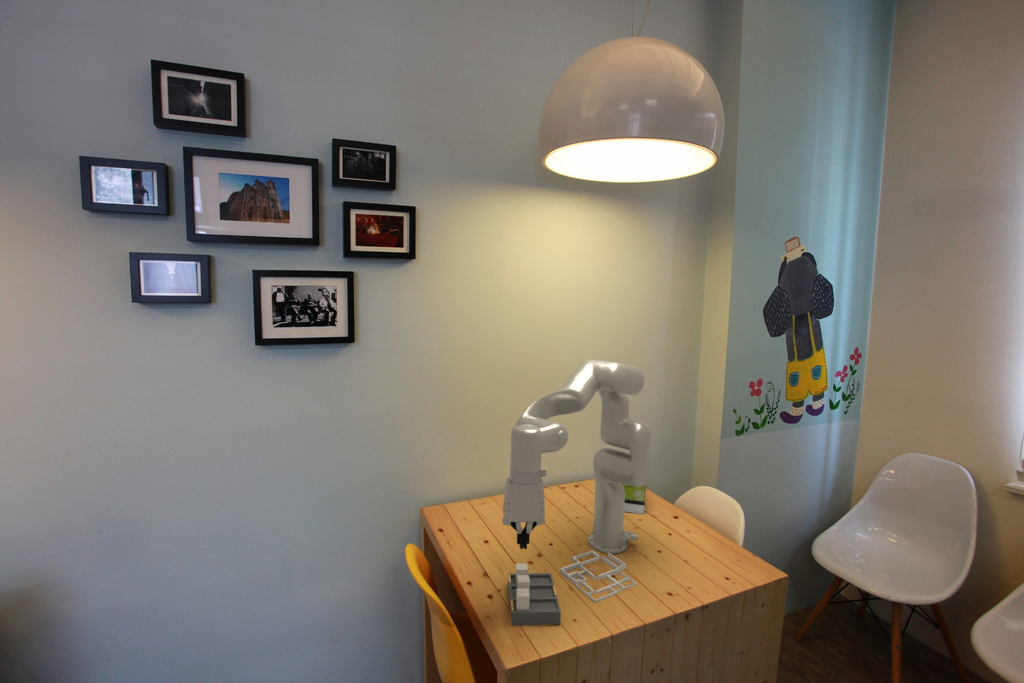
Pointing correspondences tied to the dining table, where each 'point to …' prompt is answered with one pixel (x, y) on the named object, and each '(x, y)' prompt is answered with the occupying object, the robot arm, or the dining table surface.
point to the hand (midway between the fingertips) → (522, 546)
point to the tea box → (634, 498)
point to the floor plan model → (608, 574)
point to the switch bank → (535, 601)
